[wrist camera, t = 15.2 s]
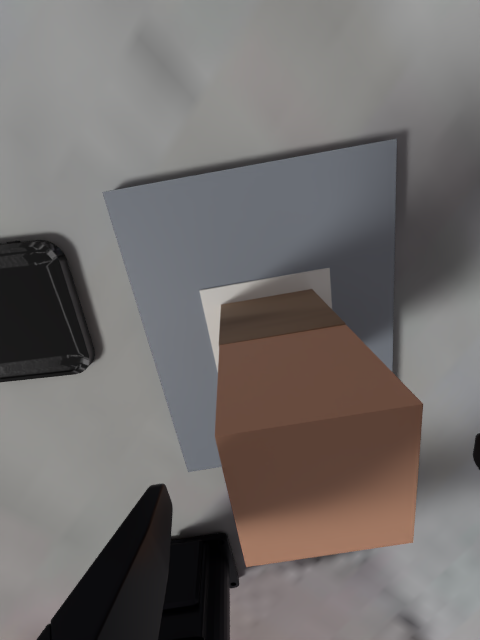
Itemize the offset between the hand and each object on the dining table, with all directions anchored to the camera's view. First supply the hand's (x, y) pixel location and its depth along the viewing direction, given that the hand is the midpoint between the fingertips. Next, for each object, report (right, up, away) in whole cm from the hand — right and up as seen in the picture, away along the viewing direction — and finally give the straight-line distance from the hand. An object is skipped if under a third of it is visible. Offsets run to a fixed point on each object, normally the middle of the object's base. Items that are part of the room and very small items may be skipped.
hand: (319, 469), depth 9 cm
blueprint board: (0, +4, +10) cm, 10 cm away
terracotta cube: (0, +1, +4) cm, 4 cm away
